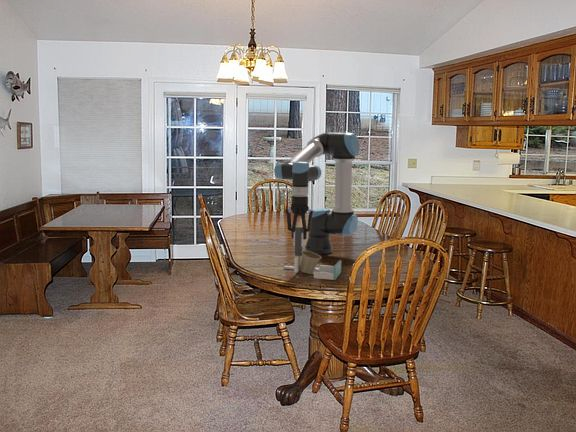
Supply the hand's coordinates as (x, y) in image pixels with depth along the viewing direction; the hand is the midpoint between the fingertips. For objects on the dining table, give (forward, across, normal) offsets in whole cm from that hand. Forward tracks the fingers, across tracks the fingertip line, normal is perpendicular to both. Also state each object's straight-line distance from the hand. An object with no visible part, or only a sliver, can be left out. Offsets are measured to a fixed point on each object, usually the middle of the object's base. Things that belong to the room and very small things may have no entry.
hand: (298, 245), depth 284 cm
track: (+13, 0, +6) cm, 15 cm away
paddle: (+12, 0, +1) cm, 12 cm away
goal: (+13, +13, 0) cm, 18 cm away
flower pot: (+12, +4, 0) cm, 13 cm away
